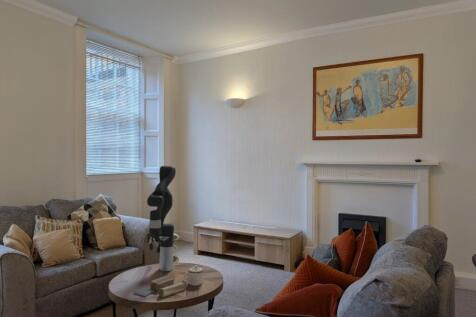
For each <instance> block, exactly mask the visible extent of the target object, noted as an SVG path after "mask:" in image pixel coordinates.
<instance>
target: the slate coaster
mask: <svg viewBox="0 0 476 317" xmlns="http://www.w3.org/2000/svg"><path fill="white" fill-rule="evenodd" d="M155 292H156V291H155V290H153V289H150V287H149V288H148V287H142V288H140V289H138V290H136V291H134V292H133V295H137V296H140V297H144V298H146V297H148V296H150V295H152V294H154V293H155Z"/></svg>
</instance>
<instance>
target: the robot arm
mask: <svg viewBox="0 0 476 317" xmlns="http://www.w3.org/2000/svg"><path fill="white" fill-rule="evenodd" d="M158 172H159V173H158V174H159V182H158V184H157V185H156V186H155V189H154V191H153V192H151V194H150V195H149V196H148V197H147V200H146V204H147V205H148V206H149V207H151V208H152V207H153V208H155V207H156V209H152V210H150V211H149V223H148V228H149V229H148V233H147V241H146V243H148V247H149V251H152V250H154V245H155V246H156V253H157V254H159V266H158V267H159V268H158V269H159V270H160V271H161V272H171V271H172V270H174V234H175V225H174V224H173V223H164V221H165V218H166V217H167V215H168V214H169V212H170V211H171V209H172V207H173V200H174V199H173V194H172V193H171V190H169V186H170V185H171V183H172V182H173V181H174V179H175V176H176V168H175V166H172V165H160V167H159V171H158ZM167 237H168V238H167ZM164 238H166V239H164ZM163 239H164V240H163ZM154 243H155V244H154Z"/></svg>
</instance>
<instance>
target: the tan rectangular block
mask: <svg viewBox="0 0 476 317" xmlns="http://www.w3.org/2000/svg"><path fill="white" fill-rule="evenodd" d="M149 282H150V287H149V289H153V290H155V292H157V293H159V288H165V287H168V286H171V285H174V284H175V278H172V277H169V276H167V275H165V276H164V275H163V276H162V277H159V278H155V279H152V280H150V281H149Z"/></svg>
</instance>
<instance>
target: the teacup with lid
mask: <svg viewBox="0 0 476 317" xmlns="http://www.w3.org/2000/svg"><path fill="white" fill-rule="evenodd" d="M203 271H204V269H203V268H202V267H199V266H198V265H197V264H196V265H194V266H192V267H191V268H189V269H188V272H185V273H184V275H183V278H184V279H185V280H186V281H188V284H189V285H190V286H194V287H196V286H201V285H202V284H203ZM186 275H188V278H186Z"/></svg>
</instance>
